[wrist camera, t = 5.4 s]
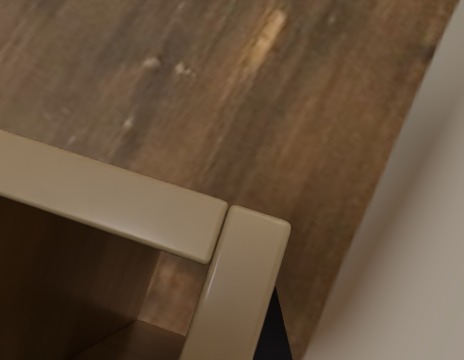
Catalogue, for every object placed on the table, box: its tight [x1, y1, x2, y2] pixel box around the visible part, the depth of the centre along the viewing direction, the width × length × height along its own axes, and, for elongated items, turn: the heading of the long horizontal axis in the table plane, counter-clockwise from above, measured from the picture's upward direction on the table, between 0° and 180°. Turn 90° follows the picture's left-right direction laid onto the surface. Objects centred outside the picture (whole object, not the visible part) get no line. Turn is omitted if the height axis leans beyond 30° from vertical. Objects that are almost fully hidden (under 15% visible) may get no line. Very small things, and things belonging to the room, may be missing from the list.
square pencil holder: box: [0, 129, 291, 360], centre depth 9 cm, size 5×4×12 cm
